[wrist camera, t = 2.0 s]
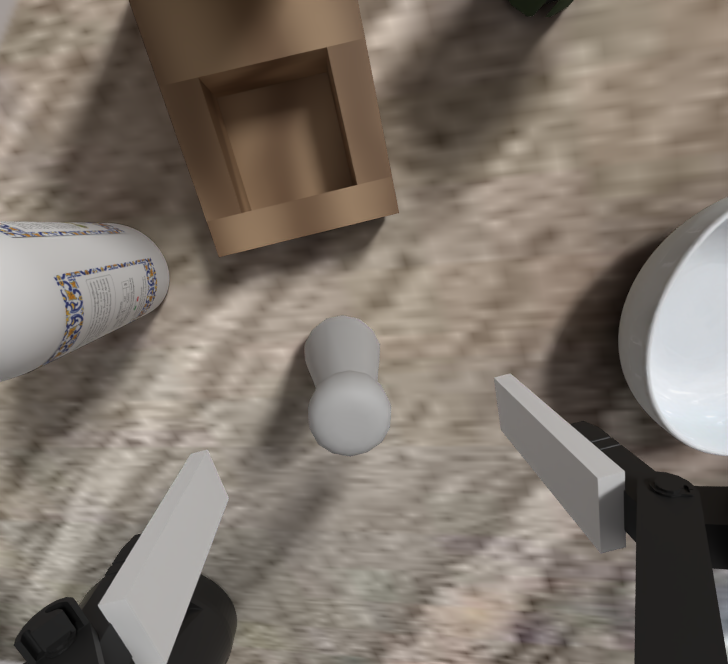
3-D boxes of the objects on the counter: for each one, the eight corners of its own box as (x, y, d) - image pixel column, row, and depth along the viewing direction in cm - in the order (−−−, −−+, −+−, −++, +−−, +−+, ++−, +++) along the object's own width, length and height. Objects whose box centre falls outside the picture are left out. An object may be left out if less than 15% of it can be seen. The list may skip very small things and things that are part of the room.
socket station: (234, 252, 27) (93, 294, 11) (141, -24, 22) (-384, -718, 6) (389, 214, 27) (477, 199, 11) (332, -67, 22) (340, -850, 6)
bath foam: (50, 261, 26) (-708, 361, 7) (121, 202, 25) (-501, 135, 6) (124, 334, 28) (-311, 567, 9) (192, 281, 27) (-122, 410, 8)
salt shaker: (315, 381, 31) (305, 488, 18) (298, 317, 29) (275, 387, 17) (382, 366, 31) (418, 462, 18) (369, 302, 29) (399, 359, 17)
